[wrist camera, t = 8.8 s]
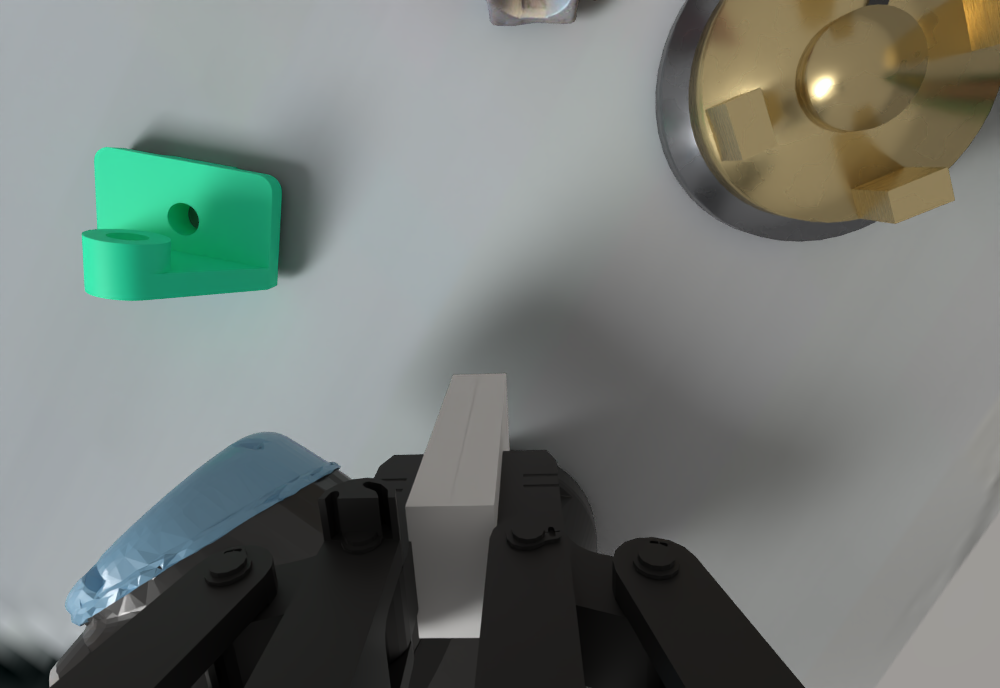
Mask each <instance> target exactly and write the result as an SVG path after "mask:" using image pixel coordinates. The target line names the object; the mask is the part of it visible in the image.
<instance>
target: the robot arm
mask: <svg viewBox="0 0 1000 688" xmlns="http://www.w3.org/2000/svg"><path fill="white" fill-rule="evenodd" d="M340 467H341V466H339V465H338V464H337V463H335V462H327V461H325V460H324V459H322V458H321V457H319V456H317V455H316V454H314V453H313V452H311V451H309V450H308V449H306V448H305V447H303V446H301V445H300V444H298V443H296V442H295V441H293V440H292V439H290V438H288V437H286V436H284V435H282V434H279V433H275V432H261V433H256V434H252V435H249V436H247V437H244V438H242V439H240V440H238V441H237V442H235V443H233V444H232V445H230V446H228V447H227V448H225V449H224V450H223V451H221V452H220V453H218V454H217V455H216V456H214V457H213V458H211V459H210V460H209V461H207V462H206V463H205V464H204V465H202V466H201V467H200V468H198V469H197V470H196V471H195V472H193V473H192V474H191V475H190V476H188V477H187V478H186V479H185V480H184V481H182V482H181V483H180V484H179V485H177V486H176V487H175V488H174V489H173V490H172V491H170V492H169V493H168V494H167V495H166V496H165V497H163V498H162V499H161V500H160V501H159V502H158V503H157V504H155V505H154V506H153V507H152V508H151V509H150V510H149V511H148V512H146V513H145V514H144V515H143V516H142V517H141V518H140V519H139V520H138V521H137V522H135V523H134V524H133V525H132V526H131V527H130V528H129V529H128V530H127V531H126V532H125V533H124V534H123V535H122V536H121V537H120V538H119V539H117V540H116V541H115V542H114V543H113V545H112V546H111V547H110V548H109V549H108V550H107V551H106V552H105V553H104V554H103V555H102V556H101V557H100V559H99V560H98V562H97V563H96V564H95V565H94V566H93V567H92V568H91V569H90V570H89V571H88V572H87V574H85V575H84V576H83V577H82V578H81V579H80V580H79V581H78V582H77V583H76V584H75V585H74V587H73V588H72V589H71V591H70V593H69V594H68V596H67V599H66V602H65V607H66V610H67V611H68V612H69V613H70V614H71V621H72V623H74V624H76V625H78V626H82V625H84V624H85V625H86V628H85V630H84V632H83V633H82V634H81V635H80V636H79V638H78V639H77V640H76V641H75V642H74V643H73V645H72V646H71V647H70V648H69V649H68V650H67V652H66V653H65V654H64V655H63V656H62V657H61V659H60V660H59V661H58V662H57V663H56V665H55V666H54V667H53V668H52V670H51V671H50V677H49V683H50V687H49V688H805V687H804V686H803V685H802V684H801V682H800V681H799V680H798V679H797V678H796V676H795V675H794V674H793V673H792V672H791V670H790V669H789V668H788V667H787V666H786V664H785V663H784V662H783V661H782V660H781V658H780V657H779V656H778V655H777V654H776V652H775V651H774V650H773V649H772V648H771V646H770V645H769V644H768V643H767V642H766V640H765V639H764V638H763V637H762V636H761V634H760V633H759V632H758V631H757V630H756V628H755V627H754V626H753V625H752V624H751V622H750V621H749V620H748V619H747V618H746V616H745V615H744V614H743V613H742V612H741V610H740V609H739V608H738V607H737V606H736V604H735V603H734V602H733V601H732V600H731V599H730V597H729V596H728V595H727V594H726V593H725V591H724V590H723V589H722V588H721V587H720V585H719V584H718V583H717V582H716V581H715V579H714V578H713V577H712V576H711V575H710V573H709V572H708V571H707V570H706V569H705V567H704V566H703V565H702V564H701V563H700V561H699V560H698V559H697V558H696V557H695V556H694V555H693V554H692V553H691V552H690V551H688V550H687V549H686V548H685V547H683V546H681V545H679V544H676V543H674V542H672V541H670V540H665V539H659V538H654V537H649V538H636V539H633V540H630V541H627V542H624V543H623V544H622V545H621V546H620V547H619V548H617V549H616V551H615V554H614V557H612V556H608V555H603V554H599V553H597V536H596V529H595V523H594V518H593V513H592V510H591V507H590V504H589V502H588V500H587V498H586V496H585V494H584V493H583V491H582V490H581V488H580V487H579V486H578V484H577V483H576V482H575V481H574V480H573V479H572V478H571V477H570V476H569V475H568V474H567V473H566V472H565V471H563V470H562V469H560V468H559V467H558V466H557V462H556V460H555V459H554V458H553V457H552V456H551V455H550V454H549V453H548V452H547V451H546V450H527V451H513V450H510V447H509V425H508V403H507V380H506V373H498V374H464V375H453V376H452V379H451V381H450V384H449V387H448V390H447V392H446V395H445V398H444V401H443V403H442V406H441V409H440V412H439V415H438V417H437V420H436V423H435V426H434V428H433V431H432V434H431V437H430V439H429V442H428V445H427V448H426V450H425V453H424V454H420V455H394V456H392V457H391V458H390V459H388V460H387V461H386V462H385V463H383V464H382V465H381V466H380V467H379V469H378V471H377V473H376V475H375V477H374V478H361V479H353V480H352V479H351V478H349V477H348V476H347V475H345V474H344V473H342V472H341V471H340V470H339V469H340Z"/></svg>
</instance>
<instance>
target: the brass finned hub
mask: <svg viewBox="0 0 1000 688" xmlns="http://www.w3.org/2000/svg"><path fill="white" fill-rule="evenodd" d="M999 87H1000V0H720V1H719V3H718V4H717V6H716V7H715V9H714V10H713V12H712V14H711V15H710V17H709V19H708V21H707V23H706V25H705V27H704V29H703V31H702V34H701V37H700V39H699V42H698V45H697V47H696V50H695V54H694V58H693V62H692V66H691V73H690V80H689V114H690V122H691V127H692V131H693V135H694V139H695V142H696V144H697V147H698V149H699V152H700V154H701V156H702V158H703V160H704V161H705V163H706V165H707V167H708V168H709V170H710V171H711V173H712V174H713V175H714V176H715V178H716V179H717V180H718V181H719V183H720V184H721V185H722V186H723V187H725V188H726V189H727V190H728V191H729V192H730V193H731V194H732V195H734V196H735V197H737V198H738V199H739V200H741V201H742V202H744V203H746V204H748V205H750V206H752V207H754V208H756V209H758V210H760V211H763V212H766V213H769V214H773V215H777V216H783V217H788V218H793V219H799V220H804V221H810V222H826V223H832V222H844V221H851V220H856V219H867V220H873V221H880V222H887V223H894V224H896V223H899V222H901V221H904V220H906V219H909V218H911V217H914V216H916V215H919V214H921V213H924V212H926V211H929V210H931V209H934V208H937V207H939V206H942V205H944V204H947V203H949V202H952V201H954V200H955V198H954V193H953V189H952V184H951V179H950V174H949V170H948V169H949V168H950V167H951V166H952V165H953V164H954V163H955V162H956V161H957V159H958V158H959V157H960V156H961V155H962V154H963V152H964V151H965V150H966V149H967V148H968V146H969V145H970V143H971V142H972V140H973V139H974V138H975V136H976V135H977V133H978V132H979V130H980V129H981V127H982V125H983V123H984V121H985V119H986V118H987V116H988V114H989V112H990V110H991V108H992V105H993V103H994V100H995V98H996V95H997V93H998V91H999Z"/></svg>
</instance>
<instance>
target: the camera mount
mask: <svg viewBox="0 0 1000 688" xmlns="http://www.w3.org/2000/svg"><path fill="white" fill-rule="evenodd" d="M94 166H95V188H96V210H97V229H95V230H88V231H84V232H82V246H83V265H84V283H85V291H86V292H87V293H88V294H90V295H93V296H96V297H100V298H105V299H113V300H128V301H138V300H153V299H164V298H176V297H187V296H199V295H210V294H222V293H233V292H245V291H256V290H268V289H270V288H272V287H274V286H276V285H277V278H278V259H279V240H280V221H281V202H282V189H281V185H280V183H279V182H278V180H277V179H276V178H274V177H273V176H271V175H268V174H263V173H258V172H252V171H247V170H241V169H237V167H231V166H226V165H220V164H215V163H209V162H204V161H198V160H193V159H187V158H182V157H176V156H169V155H159V154H154V153H148V152H143V151H137V150H132V149H126V148H110V147H105V148H102V149H100V150H99V151H98V152H97V153H96V155H95V158H94ZM190 206H191V207H192V208H193V209H194V210H195V211H196V213H197V215H198V218H199V226H198V229H196V228H195V227H194V226H193V225H192V224H191V222H190V220H189V216H188V212H189V208H190Z"/></svg>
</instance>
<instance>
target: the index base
mask: <svg viewBox="0 0 1000 688" xmlns="http://www.w3.org/2000/svg"><path fill="white" fill-rule="evenodd" d="M719 1H720V0H686V2H685V3H684V5H683V6H682V8H681V9H680V11H679V14H678V16H677V18H676V20H675V22H674V24H673V26H672V28H671V30H670V32H669V35H668V38H667V41H666V43H665V46H664V49H663V53H662V57H661V61H660V65H659V69H658V76H657V85H656V119H657V126H658V133H659V137H660V141H661V144H662V148H663V152H664V154H665V156H666V159H667V161H668V164H669V166H670V168H671V170H672V172H673V174H674V175H675V177H676V179H677V180H678V182H679V184H680V185H681V186H682V188H683V189H684V190H685V191H686V193H687V194H688V195H689V196H690V198H691V199H692V200H693V201H695V202H696V203H697V204H698V205H699V206H700V207H701V208H702V209H703V210H704V211H706V212H707V213H709V214H710V215H711V216H713V217H714V218H716V219H717V220H719V221H721V222H723V223H725V224H727V225H729V226H731V227H733V228H735V229H738V230H741V231H744V232H747V233H750V234H754V235H757V236H760V237H765V238H770V239H776V240H781V241H812V240H822V239H827V238H832V237H836V236H841V235H844V234H847V233H850V232H853V231H856V230H859V229H861V228H863V227H866V226H868V225H870V224H872V223H874V222H876V221H873V220H867V219H856V220H851V221H844V222H832V223H826V222H810V221H804V220H799V219H793V218H788V217H783V216H777V215H773V214H769V213H766V212H763V211H760V210H758V209H756V208H754V207H752V206H750V205H748V204H746V203H744V202H742V201H741V200H739V199H738V198H737V197H735V196H734V195H732V194H731V193H730V192H729V191H728V190H727V189H726V188H725V187H723V186H722V185H721V184H720V183H719V181H718V180H717V179H716V178H715V176H714V175H713V174H712V173H711V171H710V170H709V168H708V167H707V165H706V163H705V161H704V160H703V158H702V156H701V154H700V152H699V149H698V147H697V144H696V142H695V139H694V135H693V131H692V127H691V122H690V114H689V80H690V73H691V66H692V62H693V58H694V54H695V50H696V47H697V45H698V42H699V39H700V37H701V34H702V31H703V29H704V27H705V25H706V23H707V21H708V19H709V17H710V15H711V14H712V12H713V10H714V9H715V7H716V6H717V4H718V3H719Z"/></svg>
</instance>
